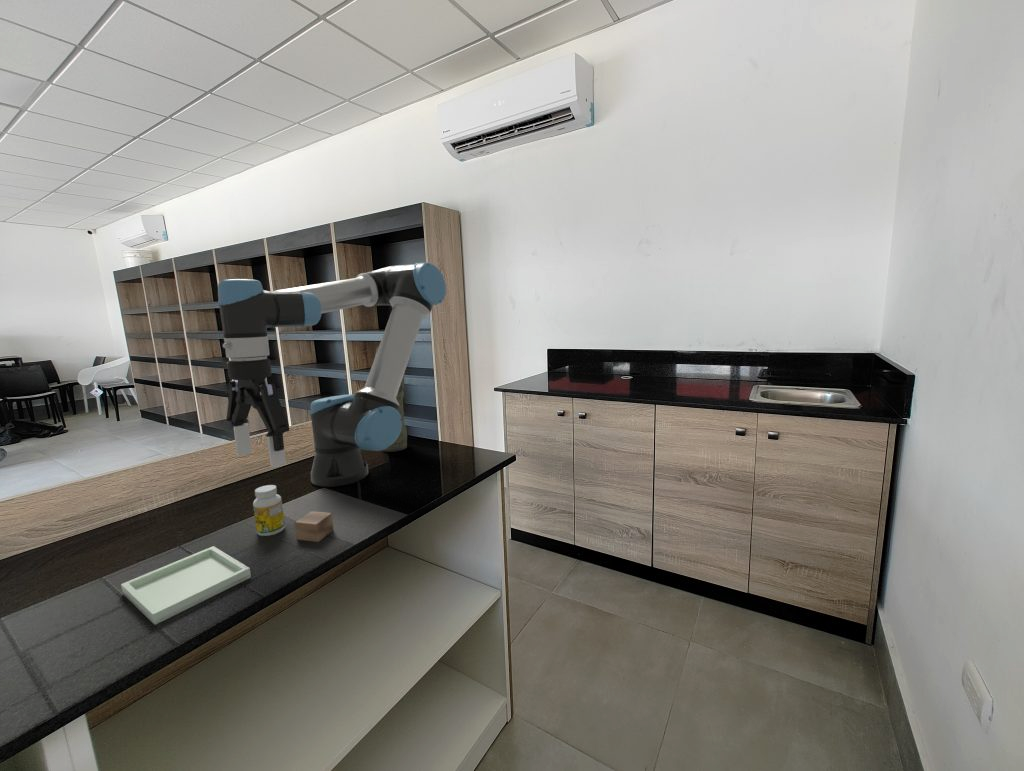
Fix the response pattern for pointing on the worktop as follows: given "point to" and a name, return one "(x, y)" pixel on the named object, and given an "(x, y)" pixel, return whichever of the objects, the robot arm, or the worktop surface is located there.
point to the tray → (184, 583)
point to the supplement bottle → (268, 511)
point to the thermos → (402, 438)
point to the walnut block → (314, 526)
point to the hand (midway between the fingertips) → (260, 460)
